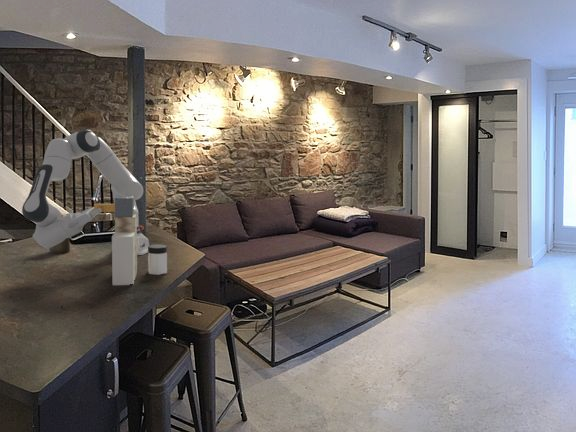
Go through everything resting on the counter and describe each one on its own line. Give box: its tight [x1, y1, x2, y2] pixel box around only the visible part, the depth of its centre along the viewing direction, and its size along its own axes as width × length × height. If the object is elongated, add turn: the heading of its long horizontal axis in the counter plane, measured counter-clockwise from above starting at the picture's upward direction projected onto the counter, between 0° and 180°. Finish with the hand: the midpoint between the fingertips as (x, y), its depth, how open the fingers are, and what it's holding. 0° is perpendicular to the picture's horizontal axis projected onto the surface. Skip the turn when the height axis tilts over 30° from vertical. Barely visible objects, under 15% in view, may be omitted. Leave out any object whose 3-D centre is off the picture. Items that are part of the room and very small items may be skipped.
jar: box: [147, 244, 168, 276], centre depth 214 cm, size 9×8×12 cm
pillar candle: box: [48, 237, 71, 255], centre depth 245 cm, size 10×10×15 cm
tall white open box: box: [111, 232, 136, 286], centre depth 197 cm, size 8×9×20 cm
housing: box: [93, 196, 134, 218], centre depth 204 cm, size 16×7×8 cm, turn 103°
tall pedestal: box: [114, 214, 138, 278], centre depth 207 cm, size 8×9×26 cm
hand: (102, 207), depth 203 cm, fingers open, 8 cm apart
